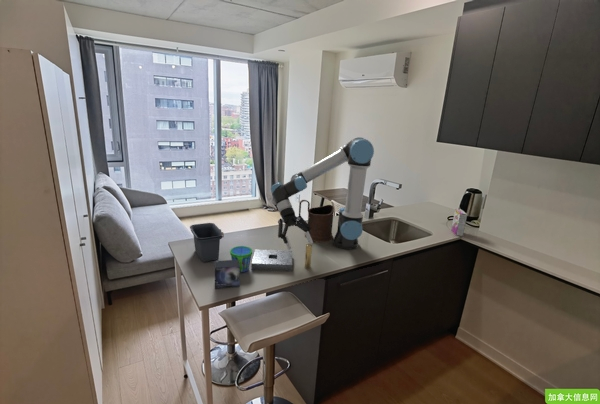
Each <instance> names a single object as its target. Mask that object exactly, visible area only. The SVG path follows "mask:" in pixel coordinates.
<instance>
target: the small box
mask: <svg viewBox="0 0 600 404" xmlns="http://www.w3.org/2000/svg"><path fill="white" fill-rule="evenodd" d="M237 287H238V288H239V287H240V264H239V260H232V259H229V260H227V259H226V260H216V261H215V260H214V288H215V289H216V290H217V289H225V288H227V289H228V288H230V289H231V288H237Z"/></svg>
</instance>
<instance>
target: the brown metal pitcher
mask: <svg viewBox="0 0 600 404" xmlns="http://www.w3.org/2000/svg"><path fill="white" fill-rule="evenodd" d="M303 202H306V203H307V216H308V217H307V221H306V219H304V218H303V217H302V219H303V220H304V221H305V222H306V223H307V224H308V225H309V226H310V227H311V228H312V229H311V230H310V234H311V238H312V241H313V242H316V243H328V242H331V241H332V240H334V236H333V232H332V231H333V222H334V212H335V207H334V206H333V205H331V204H326V205H323V206H317V207H315V206H314V207H311V208H310V206H311V205H310V204H311V203H310V201H309V200H306V199H302V200H300V201H299V206H298V216H299V215H301V212H302V211H301V209H302V203H303ZM304 238H306V235H305V234H304Z"/></svg>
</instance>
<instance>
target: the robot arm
mask: <svg viewBox="0 0 600 404" xmlns="http://www.w3.org/2000/svg"><path fill="white" fill-rule="evenodd" d="M374 154H375V150H374V145H373V143H372V142H371V141H369V140H368V139H366V138H364V137H355V138H353V139H351V140H350V141H349V142H347V143H346V144H344V145H342V146H340V149H339V150H337V151H334V152H333V153H332V154H330V155H328V156H326V157H324V158H322V159H321V160H319V161H318V162H316V163H314V164H312V165H310V166H309V167H307V168H305V169H302V171H300V172H298V173H294V174H293V175H292V176H291V178H290V180H289V181H288V182H286V183H282V182H277V183H274V184H272V185H271V186H270V192H271V196H272V198H273V200H274V203H275V205H276V208H277V210H278V212H279V215H280V217H281V218H280V219H278V221H277V223H278V233H277V237H278V239H279V238H280V239H282V241H283V243H284V245H286V247H287V251H291V250H292V248H293V247H292V244H291V242H290V240H289V237H288V236H287V233H288V230H289V228H290V227H294V226H295V227H297V228H299V229H300V230H301V231H303V232H304V236H305V235H306V237H305V238H306V240H307V242H308V244H310V245H312V244H314V241H312V238H311V234H310V230H311V229H312V228H311V227H310V226H309V225H308V222H307V221H306V220H305V219H304V218H303V217H302V215H301V214H300V215H299V214H298V216H296V212H295V210H294V208H293V205H292V202H291V201H290V198H291V197H292V196H294V195H297V194H298V193H300V192H303V191H304V190H305V189H307V188H308V183H310V182H311V181H313V180H315V179H317V178H319V177H320V176H322V175H324V174H327V172H330V171H331V170H334V169H336V168H338V167H339V166H341V165H342V164H343V165H344V164H345V163H347V165H348V166H349V167H350V169H349V175H348V183H347V190H346V199H345V207H340V208H339V210H338V220H337V231H336V233H335V235H334V236H333V239H332V240H333V241H332V243H333V245H334V246H335V247H337V248H340V249H341V250H344V249H345V250H355V249H356V248H358V247H359V238H360V237H361V236H362V234H363V229H364V228H363V219H364V214H363V213H362V205H363V200H364V199H363V197H364V191H365V183H366V176H367V169H368V168H370V167H371V163H372V158H373V157H374ZM302 218H303V219H304V220H305V221H306V222H307V223H306V222H305V221H304V220H303V219H302ZM283 226H284V227H283Z"/></svg>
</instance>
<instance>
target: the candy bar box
mask: <svg viewBox="0 0 600 404" xmlns="http://www.w3.org/2000/svg"><path fill="white" fill-rule="evenodd" d="M467 218H468V213H466V212H465V211H464V210H463V209H459V208H456V209H454V213H453V219H452V224H451V231H453V232H454V233H455V234H456V235H460V236H459V237H464V233H465V228H466V224H467V223H466V222H467ZM453 232H452V233H453ZM454 233H453V234H454ZM455 234H454V235H455ZM456 235H455V236H456Z"/></svg>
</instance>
